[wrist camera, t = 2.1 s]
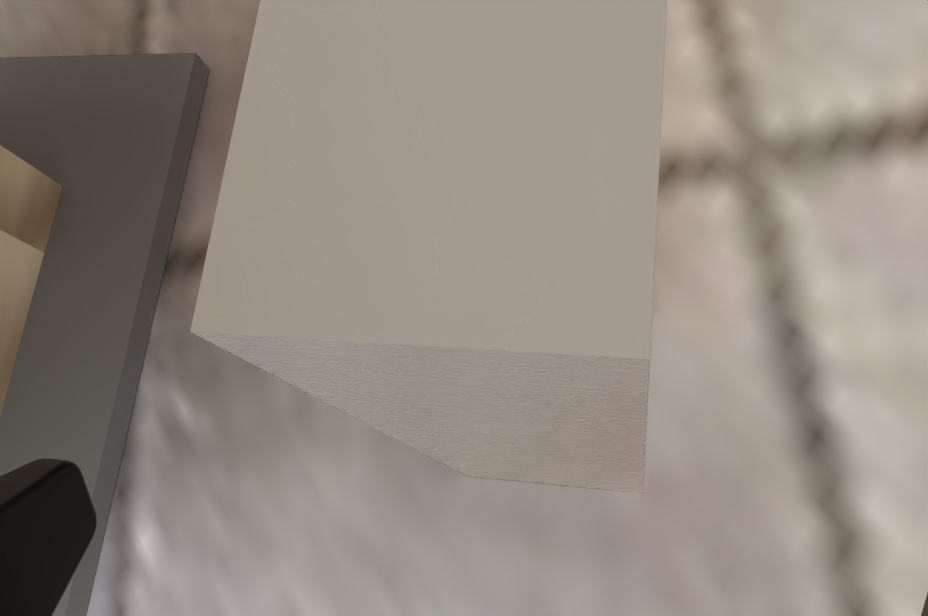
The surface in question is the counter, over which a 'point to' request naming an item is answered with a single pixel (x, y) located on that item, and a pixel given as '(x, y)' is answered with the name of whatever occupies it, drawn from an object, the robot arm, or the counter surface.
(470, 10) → the steel bar
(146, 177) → the mat
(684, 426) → the counter surface
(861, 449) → the counter surface
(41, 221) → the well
